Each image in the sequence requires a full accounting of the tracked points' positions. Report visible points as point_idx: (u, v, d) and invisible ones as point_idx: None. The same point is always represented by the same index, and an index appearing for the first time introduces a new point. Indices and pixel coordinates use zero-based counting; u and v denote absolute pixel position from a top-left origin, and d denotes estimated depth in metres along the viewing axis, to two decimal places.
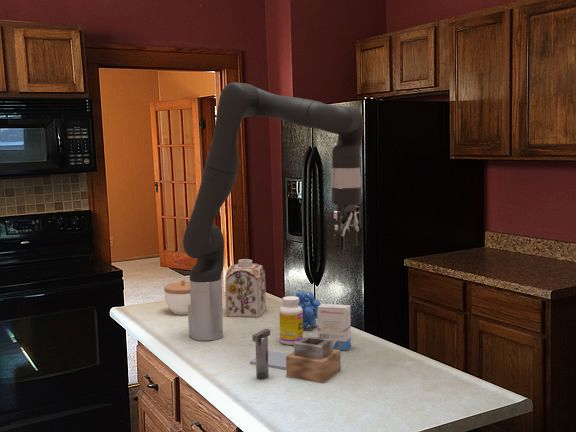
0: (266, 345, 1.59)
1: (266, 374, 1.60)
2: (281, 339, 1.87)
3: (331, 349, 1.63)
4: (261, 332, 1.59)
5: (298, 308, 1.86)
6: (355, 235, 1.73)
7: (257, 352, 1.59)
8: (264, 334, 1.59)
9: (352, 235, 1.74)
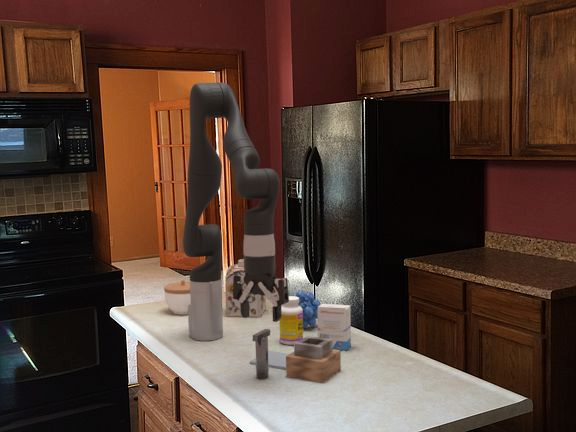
0: (266, 345, 1.59)
1: (266, 374, 1.60)
2: (281, 339, 1.87)
3: (331, 349, 1.63)
4: (261, 332, 1.59)
5: (298, 308, 1.86)
6: (248, 305, 1.61)
7: (257, 352, 1.59)
8: (264, 334, 1.59)
9: (246, 306, 1.61)
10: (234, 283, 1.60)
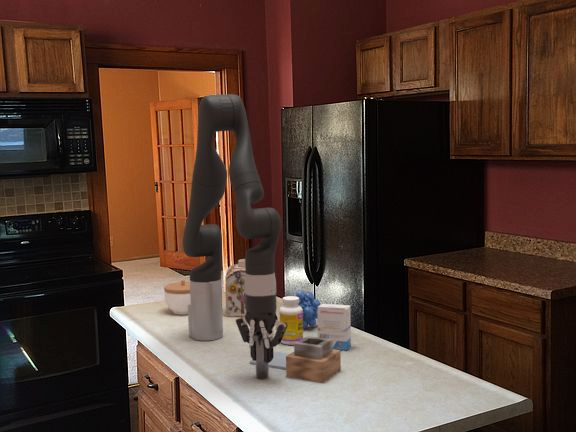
0: None
1: (266, 374, 1.60)
2: None
3: (331, 349, 1.63)
4: None
5: (298, 308, 1.86)
6: None
7: (257, 352, 1.59)
8: None
9: None
10: (239, 327, 1.61)
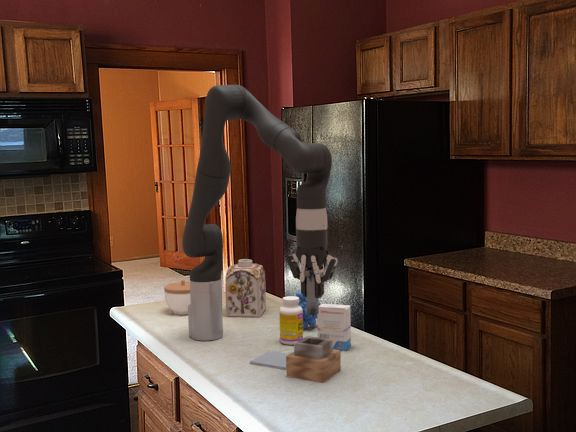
0: None
1: (317, 310, 1.60)
2: (281, 339, 1.87)
3: (331, 349, 1.63)
4: None
5: (298, 308, 1.86)
6: None
7: (308, 288, 1.60)
8: None
9: None
10: (289, 263, 1.62)
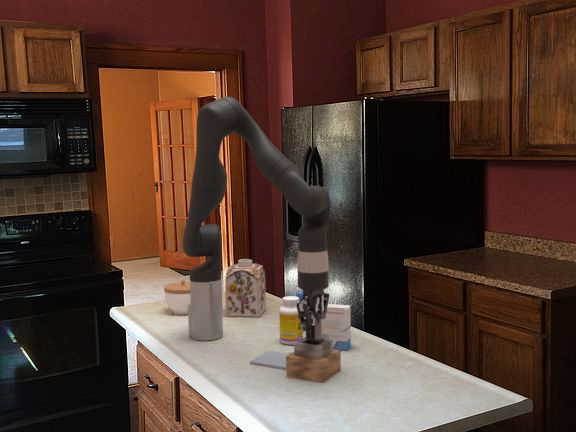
0: None
1: None
2: (281, 339, 1.87)
3: (331, 349, 1.63)
4: None
5: None
6: None
7: (318, 331, 1.60)
8: None
9: None
10: (307, 311, 1.56)
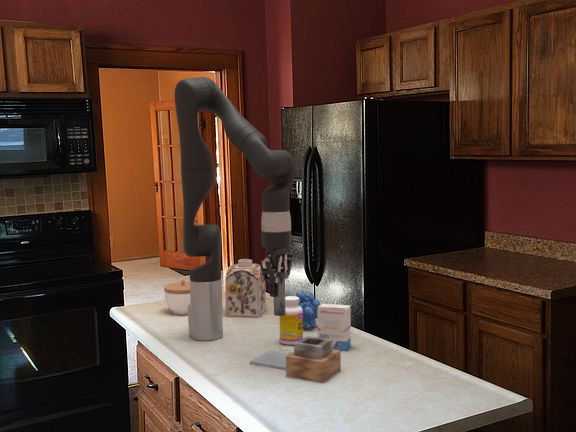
0: None
1: None
2: (281, 339, 1.87)
3: (331, 349, 1.63)
4: None
5: (298, 308, 1.86)
6: None
7: (281, 290, 1.68)
8: None
9: None
10: (269, 268, 1.64)
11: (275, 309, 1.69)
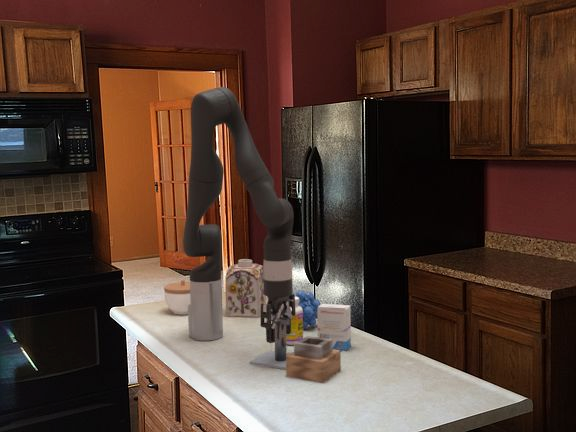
0: None
1: None
2: None
3: (331, 349, 1.63)
4: (280, 317, 1.70)
5: (298, 308, 1.86)
6: None
7: (282, 336, 1.70)
8: None
9: None
10: (269, 312, 1.64)
11: (276, 354, 1.71)
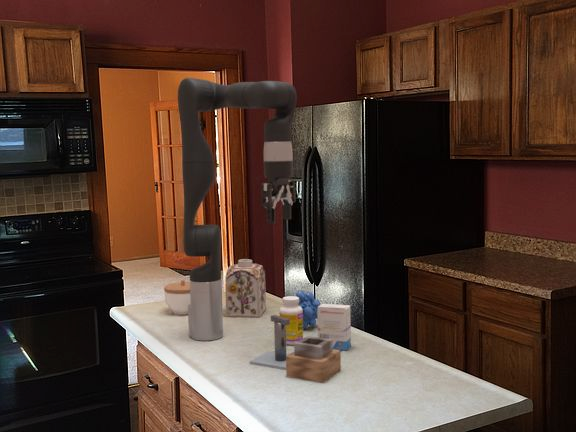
0: None
1: None
2: None
3: (331, 349, 1.63)
4: (280, 317, 1.70)
5: (298, 308, 1.86)
6: None
7: (282, 336, 1.70)
8: None
9: None
10: (270, 191, 1.66)
11: (276, 354, 1.71)
